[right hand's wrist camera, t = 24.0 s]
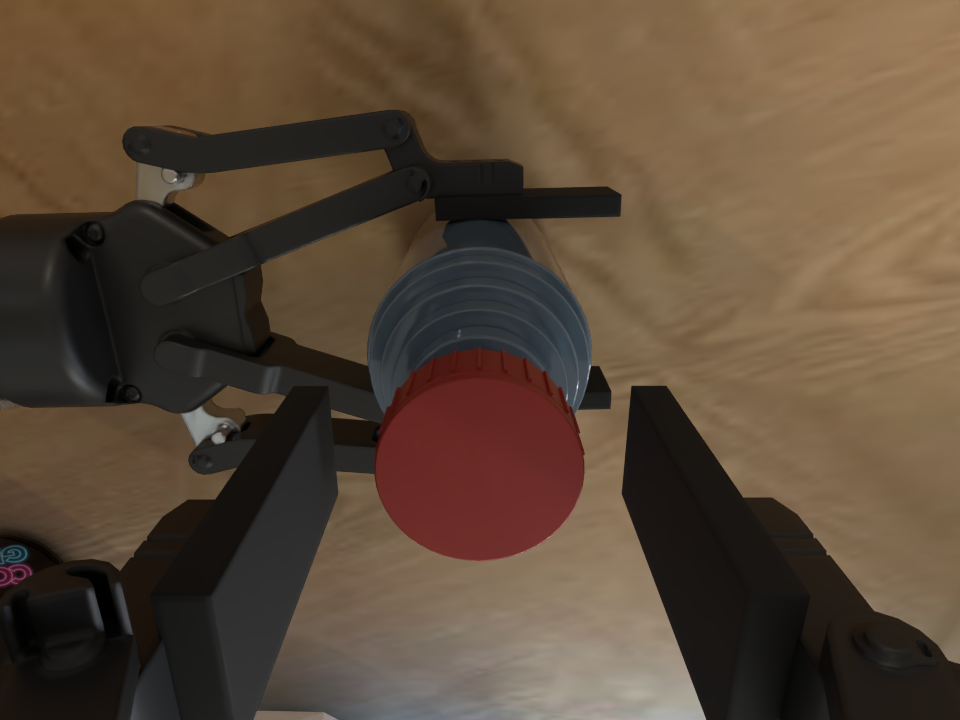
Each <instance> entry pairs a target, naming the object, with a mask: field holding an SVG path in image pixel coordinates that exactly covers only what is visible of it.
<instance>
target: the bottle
mask: <svg viewBox="0 0 960 720" xmlns="http://www.w3.org/2000/svg"><path fill="white" fill-rule="evenodd" d="M477 347H481V350H493V351H499V352H501V351H502V350H506V353H509V354H511V355H514V356H517V357H519V358H521V359H524V358H525V357H526V358H528V360H529V362H530V363H531V364H533V365H535V366H536V367H538V368H539V369H540V370H542V371H544V370H546V371H547V372H548V375H549V377H550V378H551V380H552V381H553V382H554V383H555V384H556V385H557V386H558V388H559V387H562V389H563V392H564V395H565V398H566V401H567V403H568V406H572V408H573V412H574V415H575V413H576V412H577V410H578V408H579V406H580V404H581V401H582V399H583V397H584V394H585V390H586V387H587V383H588V378H589V374H590V368H591V362H592V343H591V336H590V330H589V327H588V323H587V320H586V317H585V315H584V312H583V310H582V308H581V306H580V304H579V302H578V300H577V298H576V296H575V294H574V292H573V290H572V289H571V287H570V285H569V283H568V281H567V279H566V277H565V275H564V273H563V272H562V270H561V268H560V266H559V264H558V262H557V260H556V258H555V256H554V255H553V253H552V251H551V249H550V247H549V245H548V243H547V241H546V239H545V238H544V236H543V234H542V232H541V230H540V228H539V227H538V225H537V224H536V222H535V221H534V220H533V219H500V220H461V221H436V216H435V211H434V212H433V213H431V214H430V215H429V217H428V218H427V219H426V220H425V221H424V223H423V224H422V226H421V227H420V229H419V230H418V232H417V234H416V236H415V238H414V240H413V242H412V244H411V246H410V247H409V249H408V251H407V253H406V255H405V257H404V259H403V261H402V262H401V264H400V266H399V268H398V270H397V272H396V274H395V276H394V278H393V279H392V281H391V283H390V285H389V287H388V289H387V291H386V293H385V294H384V296H383V298H382V300H381V302H380V304H379V306H378V308H377V310H376V312H375V315H374V317H373V320H372V324H371V327H370V330H369V337H368V343H367V360H368V368H369V373H370V377H371V383H372V387H373V390H374V394H375V397H376V399H377V401H378V404H379V406H380V408H381V410H382V411H383V413H384V414H385V411H386V408H387V406H389V407H390V405H391V403H392V401H393V398H394V394H395V391H396V389H397V387H400V388H401V386H402V385H403V384H404V383H405V382H406V381H407V379H408V378H409V377H410V374H411V372H412V371H413V370H414V371H415V372H416V371H417V370H418V369H420V368H421V367H423V366H424V365H426V364H428V363H429V362H430V359H431V358H433V357H434V359H437V358H439V357H442V356H444V355H448V354H451V353H453V350H457V352H460V351H465V350H473V349H474V350H476V349H477Z"/></svg>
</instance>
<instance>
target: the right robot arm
mask: <svg viewBox="0 0 960 720" xmlns="http://www.w3.org/2000/svg"><path fill="white" fill-rule="evenodd" d="M337 496H338V486H337V475H336V464H335V453H334V442H333V431H332V420H331V409H330V398H329V387H328V386H293V388H292V389H291V391H290V392H289V393H288V395H287V396H286V398H285V399H284V401H283V402H282V404H281V405H280V406H279V408H278V409H277V411H276V412H275V414H274V415H273V417H272V418H271V420H270V421H269V422H268V424H267V425H266V427H265V428H264V430H263V431H262V433H261V434H260V436H259V437H258V438H257V440H256V441H255V443H254V444H253V446H252V447H251V449H250V450H249V452H248V453H247V454H246V456H245V457H244V459H243V460H242V462H241V463H240V465H239V466H238V468H237V469H236V470H235V472H234V473H233V475H232V476H231V478H230V479H229V481H228V482H227V484H226V485H225V486H224V488H223V489H222V491H221V492H220V494H219V495H218V497H217V498H216V499H215V500H187V501H185V502H184V503H183V504H181V505H180V506H178V507H177V508H175V509H174V510H172V511H171V512H169V513H168V514H166V515H165V516H163V517H162V519H161V520H160V521H159V522H158V524H157V525H156V526H155V527H154V529H153V530H152V531H151V533H150V534H149V535H148V536H147V541H143V543H142V544H141V545H140V546H139V548H138V549H137V550H136V552H135V553H134V557H131V558H130V559H129V560H128V562H127V563H126V564H125V565H124V567H123V568H122V569H121V571H120V572H119V570H118V569H117V568H115V567H114V566H113V565H112V564H111V563H109V562H105V561H100V560H94V559H88V560H76V561H69V562H65V563H62V564H58V565H55V566H51V567H48V568H45V569H43V570H41V571H39V572H37V573H35V574H33V575H31V576H29V577H26V578H24V579H23V580H22V581H20V582H19V583H18V584H16V585H15V586H13V587H12V588H11V589H9V590H8V591H7V592H5V593H4V595H3V596H2V597H1V599H0V629H1V632H2V635H3V638H4V641H5V644H6V647H7V650H8V653H9V656H10V659H11V664H9V665H5V666H2V667H0V720H254V717H255V715H256V712H257V709H258V707H259V704H260V701H261V699H262V696H263V693H264V691H265V688H266V685H267V682H268V680H269V677H270V674H271V672H272V669H273V666H274V664H275V661H276V658H277V656H278V653H279V650H280V648H281V645H282V642H283V640H284V637H285V634H286V632H287V629H288V626H289V624H290V621H291V618H292V616H293V613H294V610H295V608H296V605H297V602H298V600H299V597H300V594H301V592H302V589H303V586H304V584H305V581H306V578H307V576H308V573H309V570H310V568H311V565H312V562H313V560H314V557H315V554H316V552H317V549H318V546H319V544H320V541H321V538H322V536H323V533H324V530H325V528H326V525H327V522H328V520H329V517H330V514H331V512H332V509H333V506H334V504H335V501H336V498H337ZM622 496H623V498H624V501H625V504H626V506H627V509H628V512H629V514H630V517H631V520H632V522H633V525H634V528H635V530H636V533H637V536H638V538H639V541H640V544H641V546H642V549H643V552H644V554H645V557H646V560H647V562H648V565H649V568H650V570H651V573H652V576H653V578H654V581H655V584H656V586H657V589H658V592H659V594H660V597H661V600H662V602H663V605H664V608H665V610H666V613H667V616H668V618H669V621H670V624H671V626H672V629H673V632H674V634H675V637H676V640H677V642H678V645H679V648H680V650H681V653H682V656H683V658H684V661H685V664H686V666H687V669H688V672H689V674H690V677H691V680H692V683H693V685H694V688H695V691H696V693H697V696H698V699H699V701H700V704H701V707H702V709H703V712H704V715H705V717H706V720H960V664H958V663H954V662H951V661H948V660H947V658H946V657H945V655H944V654H943V652H942V651H941V650H940V648H939V647H938V645H937V644H935V643H934V642H933V641H932V640H931V639H929V638H928V637H927V636H926V635H925V634H923V633H922V632H921V631H920V630H918V629H916V628H914V627H913V626H911V625H909V624H907V623H905V622H903V621H901V620H900V619H898V618H894V617H891V616H888V615H885V614H882V613H879V612H875V611H874V610H873V609H872V608H871V607H870V605H869V604H868V603H867V602H866V600H865V599H864V598H863V597H862V595H861V594H860V593H859V591H858V590H857V589H856V588H855V586H854V585H853V584H852V583H851V581H850V580H849V579H848V578H847V576H846V575H845V574H844V573H843V571H842V570H841V569H840V568H839V566H838V565H837V564H836V563H835V561H834V560H833V559H832V557H831V556H830V555H827V554H826V550H825V549H824V547H823V546H822V545H821V544H820V542H819V541H818V540H817V539H816V538H813V534H812V532H811V531H810V530H809V529H808V527H807V526H806V525H805V524H804V522H803V521H802V520H801V518H800V517H799V516H798V515H797V514H796V513H794V512H793V511H791V510H790V509H788V508H787V507H785V506H784V505H782V504H781V503H779V502H778V501H776V500H775V499H773V498H743V497H742V495H741V494H740V492H739V491H738V489H737V488H736V486H735V485H734V484H733V482H732V481H731V479H730V478H729V476H728V475H727V473H726V472H725V470H724V469H723V468H722V466H721V465H720V463H719V462H718V460H717V459H716V457H715V456H714V454H713V453H712V452H711V450H710V449H709V447H708V446H707V444H706V443H705V441H704V440H703V438H702V437H701V436H700V434H699V433H698V431H697V430H696V428H695V427H694V425H693V424H692V422H691V421H690V420H689V418H688V417H687V415H686V414H685V412H684V411H683V409H682V408H681V406H680V405H679V404H678V402H677V401H676V399H675V398H674V396H673V395H672V393H671V392H670V391H669V389H668V388H667V386H632V387H631V398H630V409H629V420H628V431H627V442H626V453H625V464H624V475H623V486H622Z"/></svg>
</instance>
